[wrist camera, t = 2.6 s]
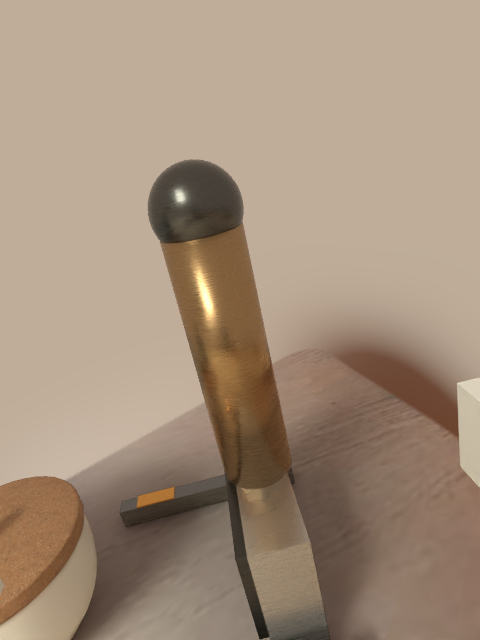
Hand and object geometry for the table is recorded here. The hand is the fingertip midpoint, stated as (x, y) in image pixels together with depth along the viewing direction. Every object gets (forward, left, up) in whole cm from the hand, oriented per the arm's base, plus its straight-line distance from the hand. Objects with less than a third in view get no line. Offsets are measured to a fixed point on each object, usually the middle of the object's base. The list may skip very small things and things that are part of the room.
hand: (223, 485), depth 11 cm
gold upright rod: (+1, +11, -17) cm, 21 cm away
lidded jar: (-16, +11, -18) cm, 26 cm away
